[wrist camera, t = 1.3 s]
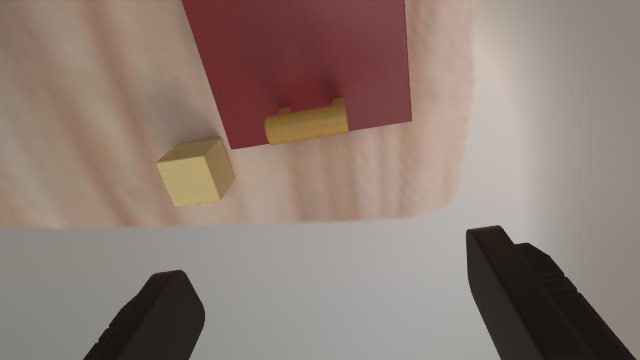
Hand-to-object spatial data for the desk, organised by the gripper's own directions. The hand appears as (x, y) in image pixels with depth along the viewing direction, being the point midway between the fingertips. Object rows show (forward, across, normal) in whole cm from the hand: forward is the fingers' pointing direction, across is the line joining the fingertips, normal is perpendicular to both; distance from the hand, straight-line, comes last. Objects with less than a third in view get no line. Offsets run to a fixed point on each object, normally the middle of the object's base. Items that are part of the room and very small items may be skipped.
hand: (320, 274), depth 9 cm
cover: (+15, +1, -5) cm, 16 cm away
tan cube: (+20, +13, +3) cm, 24 cm away
